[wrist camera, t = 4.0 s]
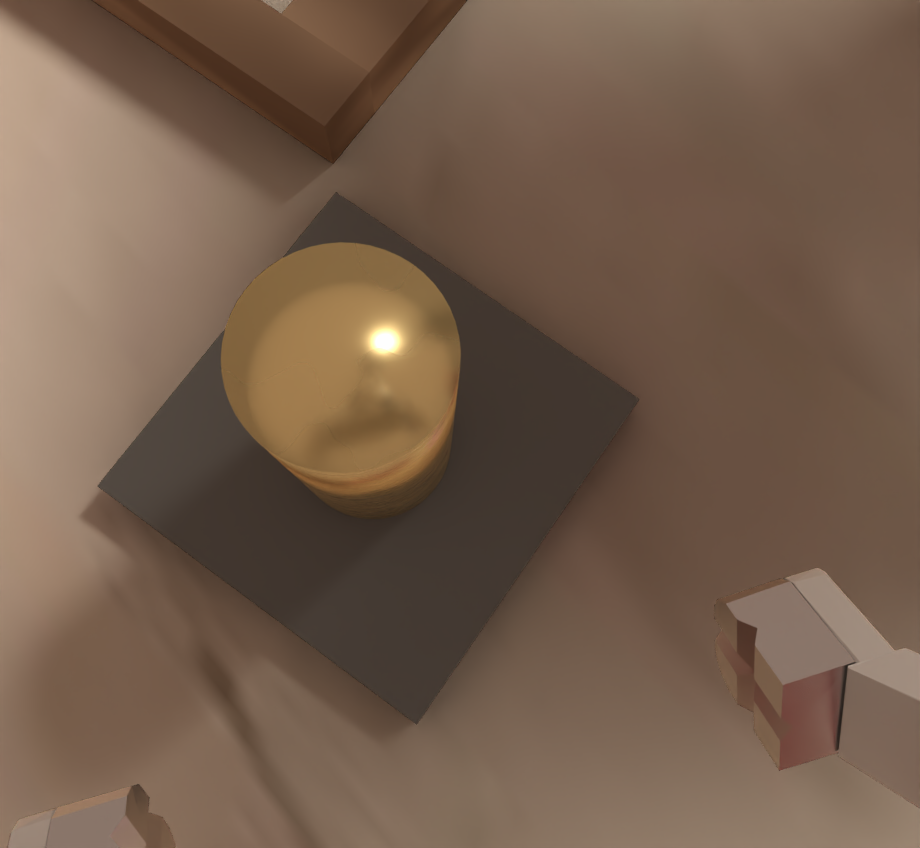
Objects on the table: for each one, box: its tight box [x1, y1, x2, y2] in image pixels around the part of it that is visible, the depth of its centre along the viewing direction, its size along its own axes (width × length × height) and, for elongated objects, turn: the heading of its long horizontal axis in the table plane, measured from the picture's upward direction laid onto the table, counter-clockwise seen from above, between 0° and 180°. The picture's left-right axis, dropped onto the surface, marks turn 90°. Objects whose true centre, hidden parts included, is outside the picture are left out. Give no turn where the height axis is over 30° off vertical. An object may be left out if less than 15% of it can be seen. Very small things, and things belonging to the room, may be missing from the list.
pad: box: [98, 193, 639, 724], centre depth 23 cm, size 10×10×1 cm
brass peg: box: [221, 242, 461, 519], centre depth 18 cm, size 4×4×8 cm
